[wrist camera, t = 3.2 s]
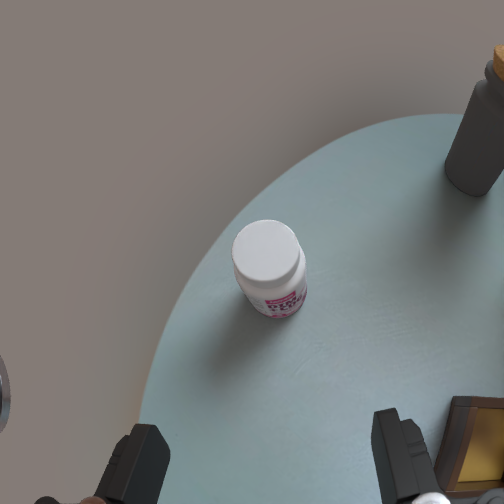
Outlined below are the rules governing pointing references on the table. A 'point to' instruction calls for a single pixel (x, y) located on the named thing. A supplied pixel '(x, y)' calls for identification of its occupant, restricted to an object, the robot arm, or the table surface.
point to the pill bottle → (270, 267)
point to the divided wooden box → (472, 447)
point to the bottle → (481, 134)
